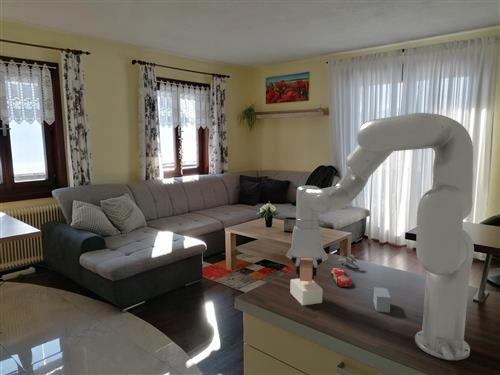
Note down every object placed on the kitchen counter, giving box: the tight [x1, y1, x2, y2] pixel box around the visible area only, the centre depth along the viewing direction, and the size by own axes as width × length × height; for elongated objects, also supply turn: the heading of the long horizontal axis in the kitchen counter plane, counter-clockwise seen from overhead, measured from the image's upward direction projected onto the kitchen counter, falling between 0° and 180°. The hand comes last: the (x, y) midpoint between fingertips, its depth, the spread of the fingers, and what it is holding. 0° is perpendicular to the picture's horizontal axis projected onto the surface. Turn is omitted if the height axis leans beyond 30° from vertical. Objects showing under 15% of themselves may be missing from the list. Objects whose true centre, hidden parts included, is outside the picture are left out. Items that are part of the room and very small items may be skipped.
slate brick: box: [372, 286, 392, 313], centre depth 116 cm, size 7×4×5 cm, turn 168°
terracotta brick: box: [299, 258, 313, 282], centre depth 122 cm, size 7×4×5 cm, turn 168°
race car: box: [330, 267, 353, 288], centre depth 137 cm, size 13×5×4 cm, turn 0°
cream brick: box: [289, 278, 323, 306], centre depth 123 cm, size 10×7×5 cm
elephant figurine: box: [338, 252, 359, 269], centre depth 151 cm, size 10×6×9 cm
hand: (306, 276), depth 122 cm, fingers closed on terracotta brick, 3 cm apart
